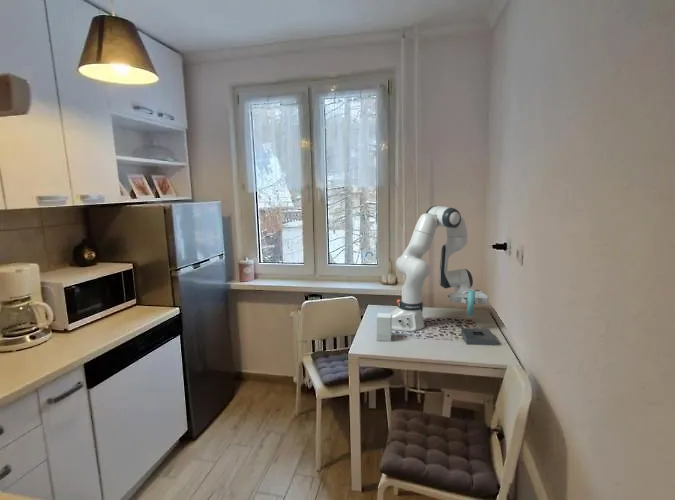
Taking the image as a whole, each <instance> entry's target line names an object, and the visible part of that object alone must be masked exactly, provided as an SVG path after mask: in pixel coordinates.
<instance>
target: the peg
mask: <svg viewBox="0 0 675 500" xmlns="http://www.w3.org/2000/svg"><path fill="white" fill-rule="evenodd" d="M467 300H468V304H466V316H468V317H473V316H474V315H475V304H474V302H475V291H472V290H469V291H468V299H467Z"/></svg>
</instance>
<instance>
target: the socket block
mask: <svg viewBox="0 0 675 500" xmlns="http://www.w3.org/2000/svg"><path fill="white" fill-rule="evenodd" d="M460 334H461V336H462V339H463V340H464V343H465V344H466V345H469V346H470V345H471V346H472V345H473V346H476V345H477V346H478V345H479V346H497V343H498V341H497V338H496V337H495V335H494V334H493V332H492V331H491V330H490V328H471V327H470V328H465V327H464V328H462V327H461V328H460Z"/></svg>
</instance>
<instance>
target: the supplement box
mask: <svg viewBox="0 0 675 500" xmlns="http://www.w3.org/2000/svg"><path fill="white" fill-rule="evenodd" d="M392 331H393V330H392V313H390V312H388V313H387V312H377V314H376V342H377V341H378V342H387V343H388V342H389V343H390V342H392Z"/></svg>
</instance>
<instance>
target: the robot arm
mask: <svg viewBox="0 0 675 500" xmlns="http://www.w3.org/2000/svg"><path fill="white" fill-rule="evenodd" d="M417 220H418V221H417V222H416V224H415V226H414V229H413V232H412V236H411V237H410V241H409V243H408V245H407V247H406V248H405V249H404V251H403V252H402V254H401V255H400V256H399V257H397V259H396V262H395V267H396V268H397V270H398V271H399V272H400V273H401V274H403V275H404V276H405V282H404V284H403V285H402V287H401V299H397V300H396V303H397V307H396V308H394V309H393V310H391V311H390V312H389V313H392V331H393V330H395V331H403V332H404V331H405V332H413V333H414V332H416V331H418V330H422V329H424V328H425V326H426V325H425V323H424V322H425V321H424V317H423V310H424V303H423V287H424V283H425V281H426V279H427V278H428V277H429V275H430V272H431V268H430V266H429V264H428V262H426V261H425V260H423V259H422V258H423V256H424V255H425V254H426V253H427V252H428V251H429V250H430V248H431V245H432V242H433V239H434V236H435V233H436V230H437V228H438V227H441V228H442V227H443V228H445V229H446V241H445V243H444V244H443V245H442V247H441V251H440V252H441V253H440V262H439V264H440V265H439V274H438V284H439V286H440V287H441V288H444V289H450V288H454V292H450V293H449V294H447V297H448V298H449V302H450V303H455V304H456V303H458V304H459V303H462V304H464V305H465V304H466V305H467V304H468V300H467V299H468V291H469V290H472V291H475V302H474V305H478V304H481V305H482V304H483V305H484V304H485V305H487V304H488V303H489V296H488V295H487V294H486V293H484V291H482V290H479V289H474V288H472V286H473V283H474V279H473V276H472V273H471V272H470V270H468V269H467V268H459V269H453V270H448V268H449V266H448V265H449V259H450V257H451V256H452V255H454V254H455V253H457V252H459V251H461V250H462V249H463V248H465V247H466V245H468V244H467V243H468V229H467V225H466V221H465V219H464V217H463V216H461V212H459V210H458V209H456V208H454V207H449V206H444V205H433V206H430V207H429V208H428V209H427V210H426V212H425V213H423V214H421V215H420V216H419V217H418V219H417Z"/></svg>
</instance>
